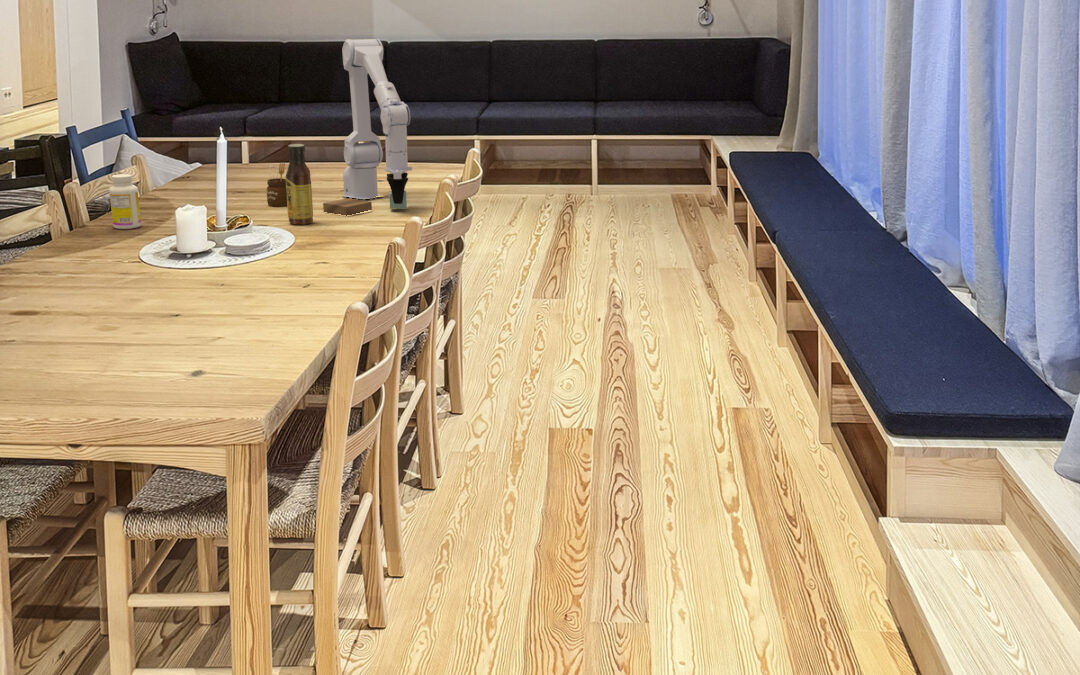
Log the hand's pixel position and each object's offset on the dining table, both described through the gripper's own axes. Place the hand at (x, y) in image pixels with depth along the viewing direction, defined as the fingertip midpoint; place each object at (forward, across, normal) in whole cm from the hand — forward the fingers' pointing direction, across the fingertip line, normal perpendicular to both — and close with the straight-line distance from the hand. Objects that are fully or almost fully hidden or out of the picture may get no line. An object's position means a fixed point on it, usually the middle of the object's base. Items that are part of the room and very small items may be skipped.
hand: (398, 201), depth 298 cm
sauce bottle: (+3, -15, +25) cm, 29 cm away
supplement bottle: (+3, -15, +67) cm, 69 cm away
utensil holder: (+3, +11, +32) cm, 35 cm away
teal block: (+1, 0, 0) cm, 1 cm away
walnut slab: (+3, -1, +13) cm, 14 cm away
